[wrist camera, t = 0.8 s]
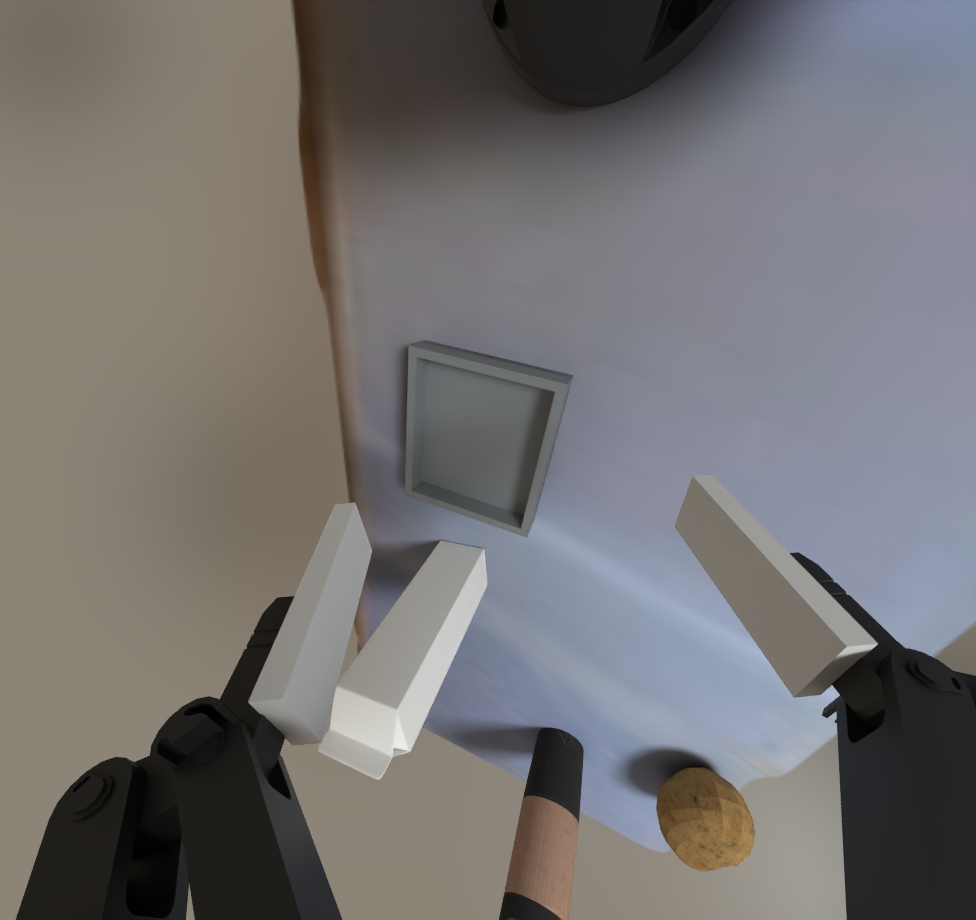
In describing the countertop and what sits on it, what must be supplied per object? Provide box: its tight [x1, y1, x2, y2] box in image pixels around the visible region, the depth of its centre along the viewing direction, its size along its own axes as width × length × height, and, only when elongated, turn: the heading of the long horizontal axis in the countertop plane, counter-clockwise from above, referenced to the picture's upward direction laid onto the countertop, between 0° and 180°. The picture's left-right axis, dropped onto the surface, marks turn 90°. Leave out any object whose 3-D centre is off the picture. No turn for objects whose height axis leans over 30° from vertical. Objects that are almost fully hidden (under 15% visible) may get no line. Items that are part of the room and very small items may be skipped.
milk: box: [318, 541, 487, 779], centre depth 35 cm, size 6×6×22 cm
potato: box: [656, 768, 755, 872], centre depth 44 cm, size 10×14×8 cm
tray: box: [405, 340, 573, 538], centre depth 34 cm, size 16×14×3 cm
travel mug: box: [499, 728, 583, 920], centre depth 46 cm, size 8×8×20 cm
